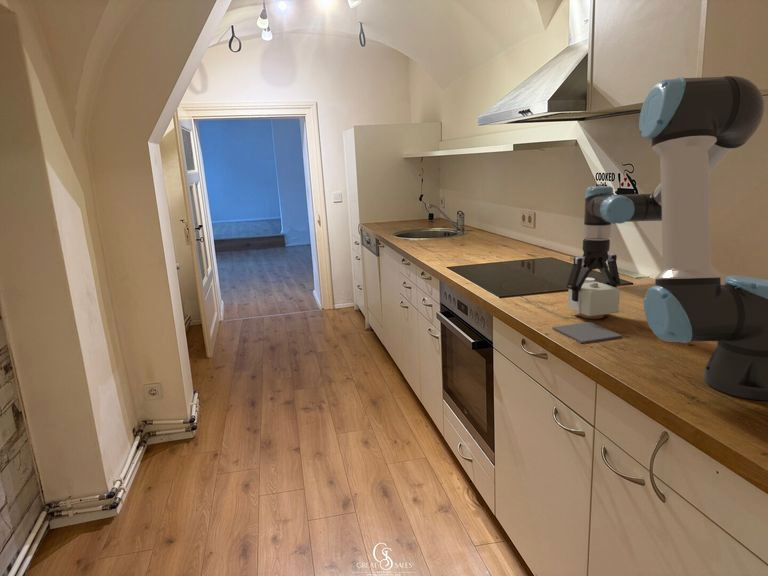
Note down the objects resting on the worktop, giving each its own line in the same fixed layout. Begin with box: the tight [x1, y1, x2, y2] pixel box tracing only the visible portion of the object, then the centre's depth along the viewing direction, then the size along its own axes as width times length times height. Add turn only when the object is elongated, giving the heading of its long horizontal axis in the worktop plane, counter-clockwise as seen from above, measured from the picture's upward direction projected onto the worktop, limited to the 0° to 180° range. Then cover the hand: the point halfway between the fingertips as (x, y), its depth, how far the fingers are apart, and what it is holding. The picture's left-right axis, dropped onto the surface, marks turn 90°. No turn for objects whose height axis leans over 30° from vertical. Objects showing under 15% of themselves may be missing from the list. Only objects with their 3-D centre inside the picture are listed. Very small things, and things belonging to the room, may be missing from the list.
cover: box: [567, 281, 621, 316], centre depth 157 cm, size 10×10×8 cm
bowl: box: [578, 312, 604, 320], centre depth 158 cm, size 7×7×4 cm
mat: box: [552, 321, 623, 344], centre depth 143 cm, size 13×13×1 cm
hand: (592, 309), depth 158 cm, fingers closed on cover, 10 cm apart
